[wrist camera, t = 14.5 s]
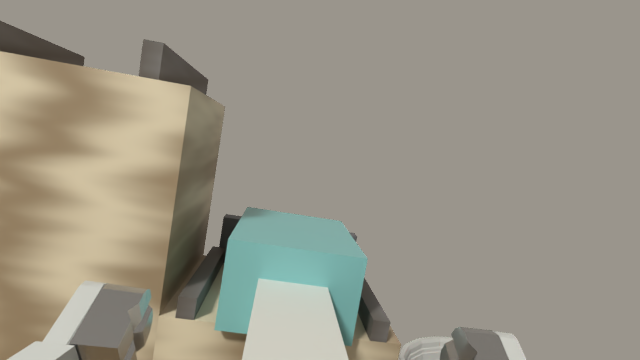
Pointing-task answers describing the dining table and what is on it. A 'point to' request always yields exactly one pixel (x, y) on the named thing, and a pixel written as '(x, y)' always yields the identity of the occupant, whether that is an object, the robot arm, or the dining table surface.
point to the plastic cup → (424, 348)
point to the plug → (291, 286)
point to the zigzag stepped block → (119, 199)
